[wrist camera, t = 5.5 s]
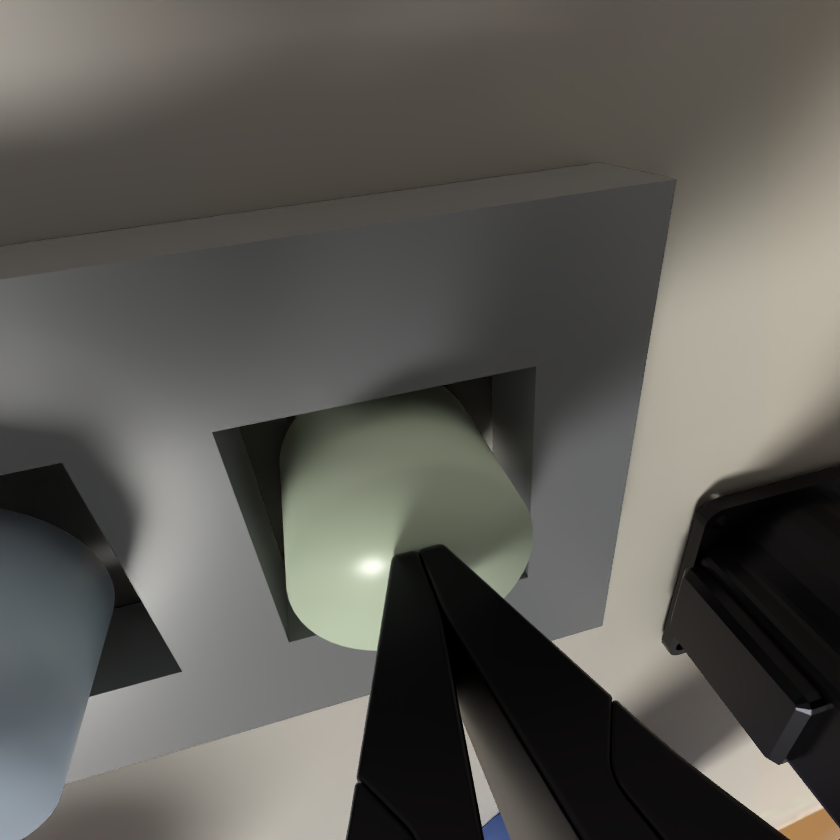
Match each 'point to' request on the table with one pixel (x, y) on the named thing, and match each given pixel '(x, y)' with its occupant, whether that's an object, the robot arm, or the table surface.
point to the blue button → (44, 661)
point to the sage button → (390, 506)
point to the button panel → (317, 390)
